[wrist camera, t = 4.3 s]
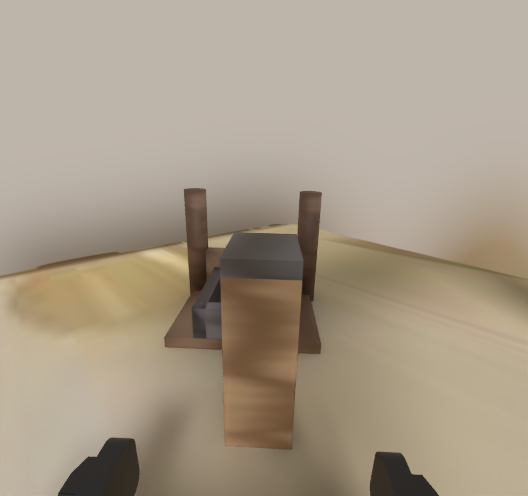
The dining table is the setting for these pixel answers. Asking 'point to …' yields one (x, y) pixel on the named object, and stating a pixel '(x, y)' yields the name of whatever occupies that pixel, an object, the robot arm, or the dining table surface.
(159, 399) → the dining table surface
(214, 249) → the board
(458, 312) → the dining table surface
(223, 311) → the brown wooden block
